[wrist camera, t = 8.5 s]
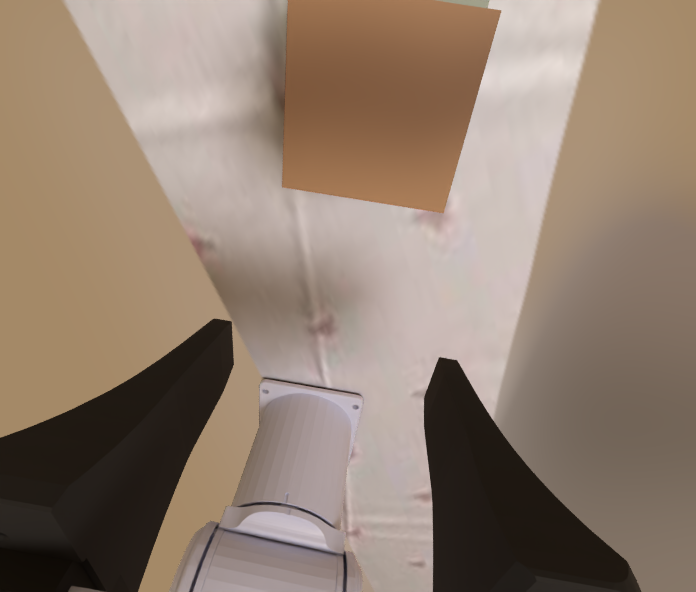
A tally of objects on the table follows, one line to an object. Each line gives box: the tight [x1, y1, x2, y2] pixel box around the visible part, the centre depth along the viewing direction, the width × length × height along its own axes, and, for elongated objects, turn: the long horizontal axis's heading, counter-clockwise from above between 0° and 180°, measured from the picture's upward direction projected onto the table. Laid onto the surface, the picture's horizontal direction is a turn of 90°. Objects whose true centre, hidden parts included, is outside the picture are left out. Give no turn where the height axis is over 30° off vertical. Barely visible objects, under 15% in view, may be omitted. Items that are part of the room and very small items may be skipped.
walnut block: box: [282, 0, 501, 213], centre depth 11 cm, size 4×4×5 cm
